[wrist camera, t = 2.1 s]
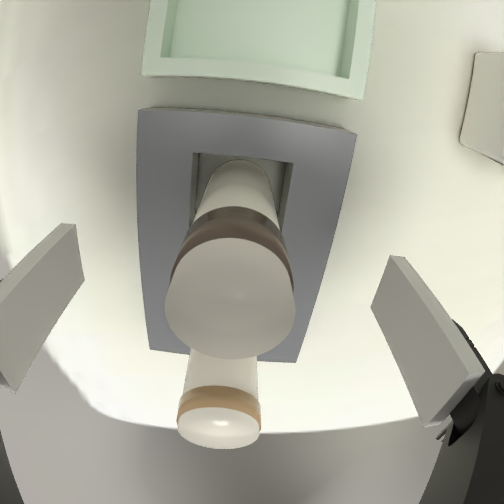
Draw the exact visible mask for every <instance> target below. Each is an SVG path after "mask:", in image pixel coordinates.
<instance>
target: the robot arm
mask: <svg viewBox="0 0 504 504" xmlns="http://www.w3.org/2000/svg"><path fill="white" fill-rule="evenodd" d="M83 282H84V275H83V269H82V264H81V258H80V252H79V245H78V239H77V231H76V224H63V223H61V224H60V225H59V226H58V227H56V228H55V229H54V230H53V231H52V232H51V233H50V234H49V235H47V236H46V237H45V238H44V239H43V240H42V241H41V242H40V243H39V244H38V245H37V246H36V247H35V248H34V249H33V250H31V251H30V252H29V253H28V254H27V255H26V256H25V257H24V258H23V259H22V260H21V261H20V262H19V263H18V264H17V265H16V266H15V267H14V268H13V269H12V270H11V271H10V273H9V274H8V275H7V276H6V277H5V278H4V279H2V280H0V388H2V389H5V390H7V391H9V392H12V393H14V394H16V392H17V390H18V388H19V386H20V384H21V382H22V380H23V379H24V377H25V375H26V373H27V371H28V369H29V368H30V366H31V364H32V362H33V360H34V358H35V357H36V355H37V353H38V352H39V350H40V348H41V347H42V345H43V343H44V342H45V340H46V338H47V337H48V335H49V333H50V332H51V330H52V329H53V327H54V325H55V324H56V322H57V321H58V319H59V317H60V316H61V314H62V313H63V311H64V310H65V308H66V307H67V305H68V304H69V302H70V301H71V299H72V298H73V296H74V295H75V293H76V292H77V290H78V289H79V287H80V286H81V285H82V283H83ZM371 309H372V311H373V313H374V315H375V318H376V320H377V322H378V324H379V326H380V328H381V330H382V332H383V334H384V336H385V339H386V341H387V343H388V345H389V347H390V349H391V352H392V354H393V356H394V358H395V360H396V363H397V365H398V367H399V369H400V372H401V374H402V376H403V379H404V381H405V383H406V386H407V388H408V390H409V393H410V395H411V398H412V400H413V403H414V405H415V408H416V410H417V413H418V415H419V418H420V420H421V423H422V425H423V428H426V427H430V426H434V425H438V424H441V423H442V422H443V421H444V420H445V418H446V417H447V416H448V415H449V414H450V415H451V417H452V419H453V420H452V422H451V423H450V424H449V425H448V426H447V427H446V428H445V429H444V430H443V431H442V432H441V433H440V434H439V435H438V436H437V438H436V439H437V440H439V439H440V438H441V437H442V436H443V435H444V434H445V437H444V439H443V440H442V442H443V444H442V446H441V449H440V453H439V455H438V458H437V461H436V464H435V466H434V469H433V472H432V474H431V477H430V479H429V482H428V484H427V487H426V489H425V491H424V494H423V496H422V499H421V500H420V502H419V504H504V375H501V374H492V373H491V371H490V369H489V368H488V366H487V365H486V363H485V361H484V360H483V358H482V357H481V355H480V354H479V352H478V350H477V349H476V347H474V344H473V343H472V341H471V340H469V337H468V335H467V334H466V332H465V331H464V330H463V328H462V327H461V326H460V325H458V324H457V323H456V322H455V321H454V320H452V319H451V318H450V316H449V315H448V313H447V312H446V311H445V309H444V308H443V306H442V305H441V304H440V302H439V301H438V300H437V298H436V297H435V296H434V294H433V293H432V292H431V290H430V289H429V288H428V286H427V285H426V284H425V282H424V281H423V280H422V278H421V277H420V276H419V275H418V273H417V272H416V271H415V270H414V268H413V267H412V266H411V264H410V263H409V262H408V261H407V260H406V258H405V257H400V256H391V255H390V257H389V259H388V262H387V265H386V268H385V271H384V273H383V276H382V279H381V281H380V284H379V287H378V289H377V292H376V294H375V297H374V299H373V302H372V304H371ZM0 504H24V503H23V500H22V497H21V495H20V492H19V490H18V487H17V484H16V482H15V479H14V476H13V473H12V470H11V467H10V464H9V461H8V457H7V454H6V450H5V447H4V443H3V440H2V436H1V432H0Z"/></svg>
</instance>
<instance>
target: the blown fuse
mask: <svg viewBox="0 0 504 504" xmlns="http://www.w3.org/2000/svg"><path fill="white" fill-rule="evenodd" d="M293 291H294V282H293V276H292V272H291V267H290V262H289V258H288V253H287V249H286V244H285V241H284V238H283V235H282V233H281V232H280V228H279V223H278V219H277V214H276V209H275V205H274V200H273V196H272V191H271V187H270V182H269V179H268V177H267V175H266V174H265V172H264V171H263V170H262V169H261V168H260V167H259V166H257V165H256V164H254V163H252V162H249V161H245V160H233V161H229V162H226V163H224V164H222V165H221V166H220V167H218V168H217V169H216V170H215V172H214V173H213V174H212V176H211V178H210V181H209V183H208V185H207V188H206V190H205V193H204V195H203V198H202V200H201V203H200V205H199V208H198V210H197V213H196V216H195V218H194V221H193V223H192V225H191V226H190V228H189V229H188V231H187V233H186V235H185V237H184V240H183V242H182V245H181V248H180V250H179V253H178V256H177V258H176V261H175V263H174V266H173V269H172V272H171V276H170V286H169V289H168V292H167V295H166V299H165V316H166V319H167V322H168V324H169V326H170V328H171V330H172V331H173V332H174V334H175V335H176V336H177V337H178V338H179V339H180V340H181V341H182V342H183V343H184V344H186V345H187V346H189V347H190V348H192V349H194V350H195V351H197V352H200V353H202V354H205V355H208V356H211V357H215V358H221V359H244V358H250V357H254V356H258V355H261V354H263V353H265V352H268V351H269V350H271V349H273V348H275V347H276V346H277V345H278V344H280V343H281V342H282V341H283V340H284V339H285V338H286V336H287V335H288V334H289V332H290V330H291V329H292V326H293V324H294V320H295V312H296V309H295V303H294V297H293Z"/></svg>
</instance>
